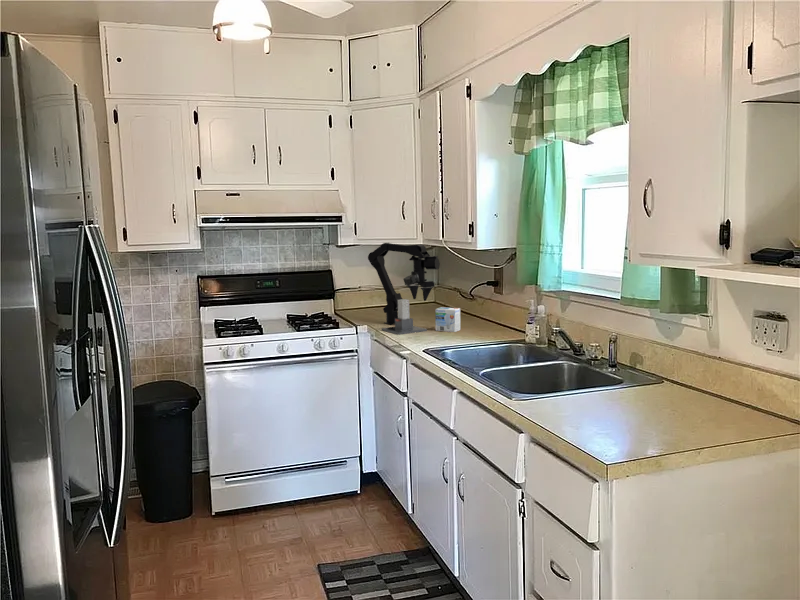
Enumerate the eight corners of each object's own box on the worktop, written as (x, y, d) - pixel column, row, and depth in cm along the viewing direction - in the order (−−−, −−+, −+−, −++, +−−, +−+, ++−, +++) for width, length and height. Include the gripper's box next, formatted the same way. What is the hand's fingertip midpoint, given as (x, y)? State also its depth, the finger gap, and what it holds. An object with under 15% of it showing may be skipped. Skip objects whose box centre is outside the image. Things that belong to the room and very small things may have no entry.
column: (397, 320, 328) (397, 299, 327) (405, 319, 331) (404, 299, 329) (402, 321, 325) (402, 300, 324) (409, 320, 327) (409, 299, 326)
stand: (381, 330, 331) (381, 318, 330) (408, 326, 339) (408, 315, 339) (399, 334, 317) (398, 322, 317) (426, 330, 326) (426, 318, 325)
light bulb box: (435, 330, 326) (434, 308, 325) (440, 328, 332) (440, 307, 331) (455, 332, 321) (455, 309, 320) (460, 330, 327) (460, 308, 326)
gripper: (395, 269, 343) (396, 299, 345) (416, 271, 327) (416, 303, 329) (413, 268, 349) (414, 297, 351) (434, 270, 333) (435, 301, 335)
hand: (419, 300), depth 341 cm, fingers open, 9 cm apart
